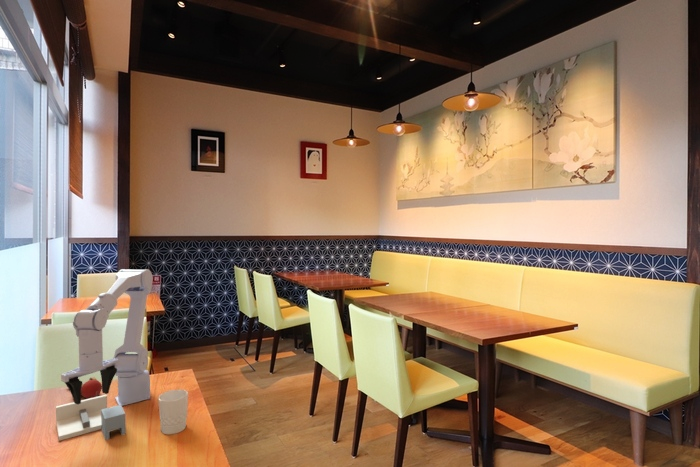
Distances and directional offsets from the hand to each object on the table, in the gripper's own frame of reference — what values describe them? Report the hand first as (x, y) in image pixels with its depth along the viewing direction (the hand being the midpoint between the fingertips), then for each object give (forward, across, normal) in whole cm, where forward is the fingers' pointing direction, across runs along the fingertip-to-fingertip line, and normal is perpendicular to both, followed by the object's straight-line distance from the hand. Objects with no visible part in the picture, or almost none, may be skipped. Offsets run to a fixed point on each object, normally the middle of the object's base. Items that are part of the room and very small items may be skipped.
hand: (91, 397), depth 115 cm
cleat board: (+10, -1, -6) cm, 11 cm away
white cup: (+10, -13, +19) cm, 25 cm away
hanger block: (+10, -3, +6) cm, 12 cm away
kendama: (+10, -12, -29) cm, 33 cm away
